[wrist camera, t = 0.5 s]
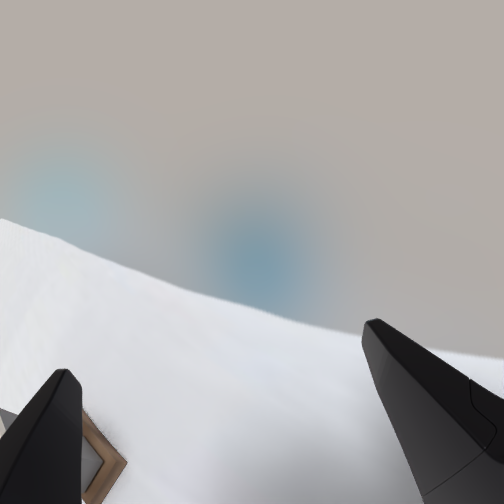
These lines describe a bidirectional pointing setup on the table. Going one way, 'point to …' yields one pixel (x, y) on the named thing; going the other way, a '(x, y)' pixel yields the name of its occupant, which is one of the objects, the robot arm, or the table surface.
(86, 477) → the gray cream rectangular block
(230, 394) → the table surface
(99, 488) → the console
